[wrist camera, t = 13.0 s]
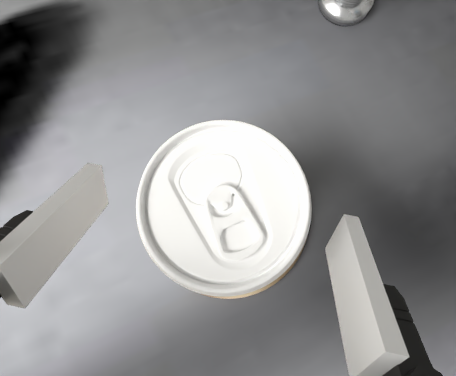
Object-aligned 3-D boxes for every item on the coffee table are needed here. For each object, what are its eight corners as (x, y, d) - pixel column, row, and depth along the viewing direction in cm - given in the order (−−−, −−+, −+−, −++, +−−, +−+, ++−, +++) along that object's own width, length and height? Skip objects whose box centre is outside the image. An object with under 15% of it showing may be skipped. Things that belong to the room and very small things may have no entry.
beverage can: (248, 153, 23) (269, 79, 12) (289, 237, 22) (357, 253, 11) (164, 190, 23) (95, 154, 11) (201, 278, 22) (170, 343, 10)
